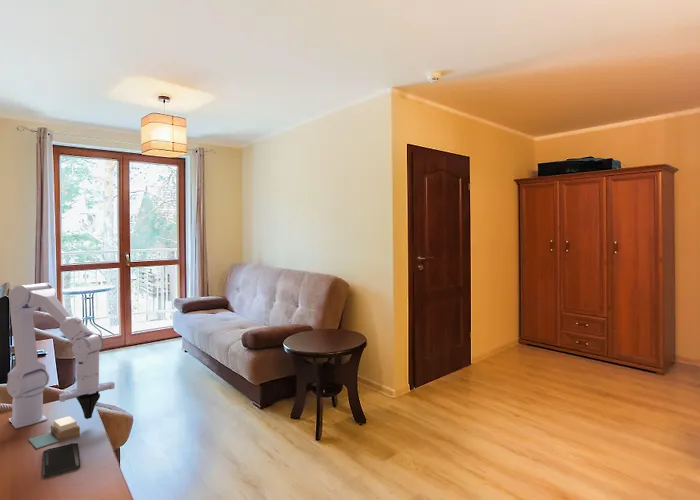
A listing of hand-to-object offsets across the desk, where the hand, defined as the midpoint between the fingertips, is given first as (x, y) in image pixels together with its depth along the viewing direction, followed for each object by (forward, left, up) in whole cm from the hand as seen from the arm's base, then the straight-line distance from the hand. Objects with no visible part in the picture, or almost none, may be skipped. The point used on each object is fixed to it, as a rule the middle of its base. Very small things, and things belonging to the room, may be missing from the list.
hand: (87, 417), depth 124 cm
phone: (+16, -12, -4) cm, 20 cm away
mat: (0, -11, -3) cm, 12 cm away
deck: (0, -6, -3) cm, 7 cm away
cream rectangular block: (0, -6, 0) cm, 6 cm away
